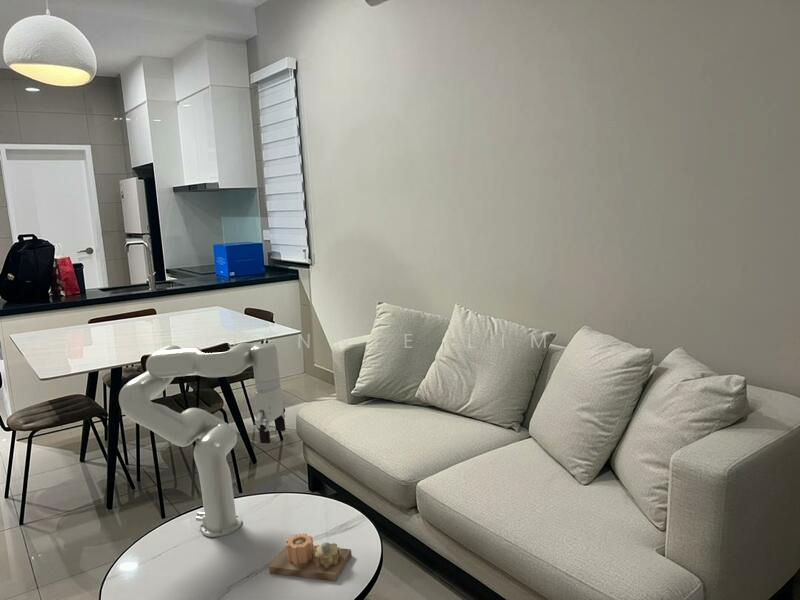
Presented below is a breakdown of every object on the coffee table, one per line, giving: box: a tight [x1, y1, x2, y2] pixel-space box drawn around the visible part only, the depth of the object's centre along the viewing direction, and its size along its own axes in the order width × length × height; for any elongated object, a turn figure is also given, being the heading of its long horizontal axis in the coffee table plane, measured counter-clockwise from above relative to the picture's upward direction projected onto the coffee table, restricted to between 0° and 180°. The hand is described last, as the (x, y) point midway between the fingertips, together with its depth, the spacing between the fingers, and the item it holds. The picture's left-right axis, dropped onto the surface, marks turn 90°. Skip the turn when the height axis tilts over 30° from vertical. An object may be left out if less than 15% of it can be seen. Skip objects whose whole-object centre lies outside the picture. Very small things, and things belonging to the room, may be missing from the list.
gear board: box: [268, 540, 353, 582], centre depth 172 cm, size 20×12×6 cm, turn 74°
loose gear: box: [285, 532, 314, 565], centre depth 173 cm, size 7×7×5 cm
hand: (273, 436), depth 190 cm, fingers open, 9 cm apart
